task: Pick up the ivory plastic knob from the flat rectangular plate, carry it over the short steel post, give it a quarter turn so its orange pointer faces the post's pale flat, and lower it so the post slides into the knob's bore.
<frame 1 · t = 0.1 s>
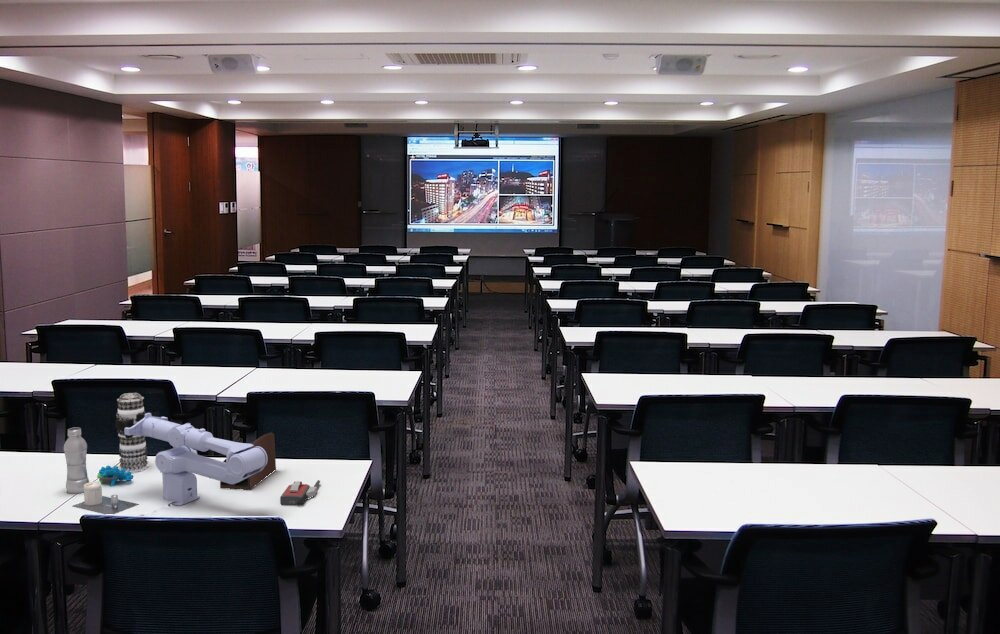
hand: (126, 420, 267), 22 cm above the table, tool horizontal, fingers open, 7 cm apart
plastic bottle: (78, 494, 266), on the table
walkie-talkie: (301, 496, 266), on the table
flat rectangular plate: (105, 508, 253), on the table
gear: (115, 486, 273), on the table
decorative candle: (134, 469, 290), on the table
letter holder: (249, 480, 280), on the table
knob: (93, 502, 255), point 1 cm above the table, touching flat rectangular plate
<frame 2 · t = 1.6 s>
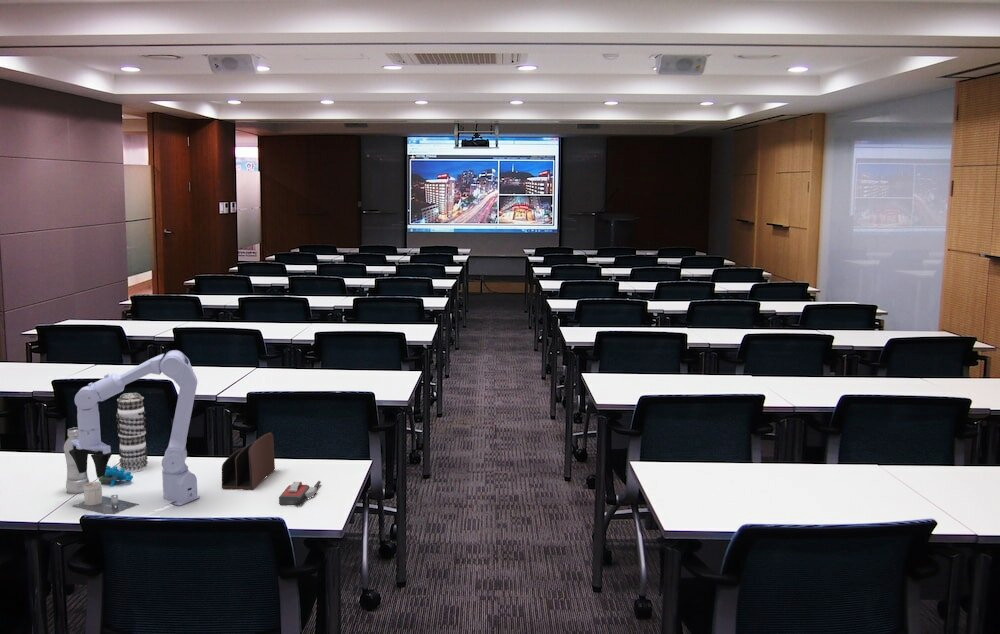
hand: (91, 474, 254), 9 cm above the table, tool pointing down, fingers open, 7 cm apart
nothing on the table moved.
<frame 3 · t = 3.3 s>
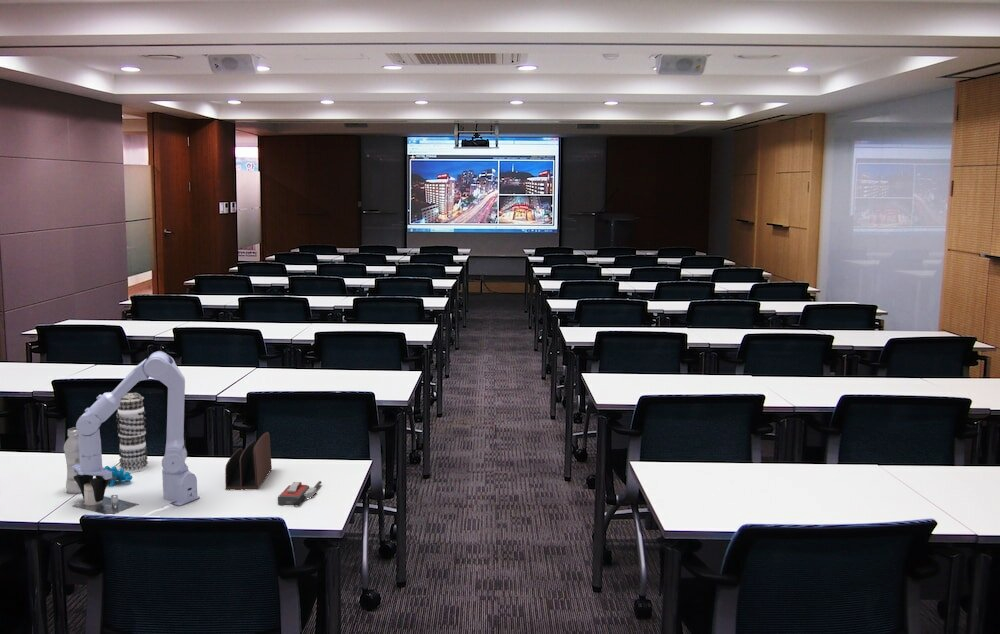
hand: (93, 499, 255), 2 cm above the table, tool pointing down, fingers closed on knob, 4 cm apart
knob: (93, 502, 255), point 1 cm above the table, touching gripper, flat rectangular plate
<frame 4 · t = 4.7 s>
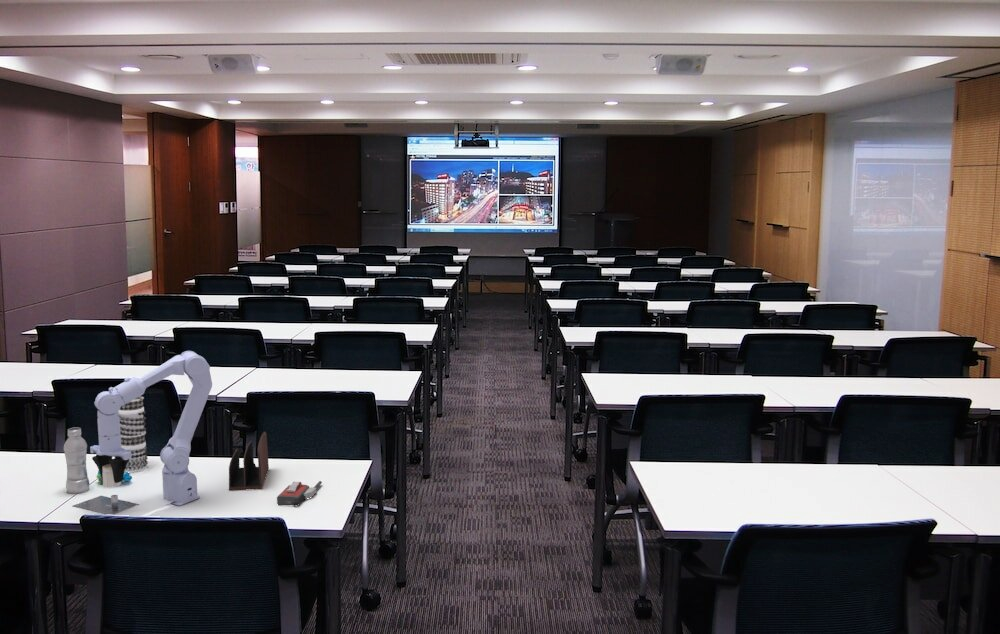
hand: (112, 480, 251), 9 cm above the table, tool pointing down, fingers closed on knob, 4 cm apart
knob: (112, 484, 251), point 8 cm above the table, touching gripper
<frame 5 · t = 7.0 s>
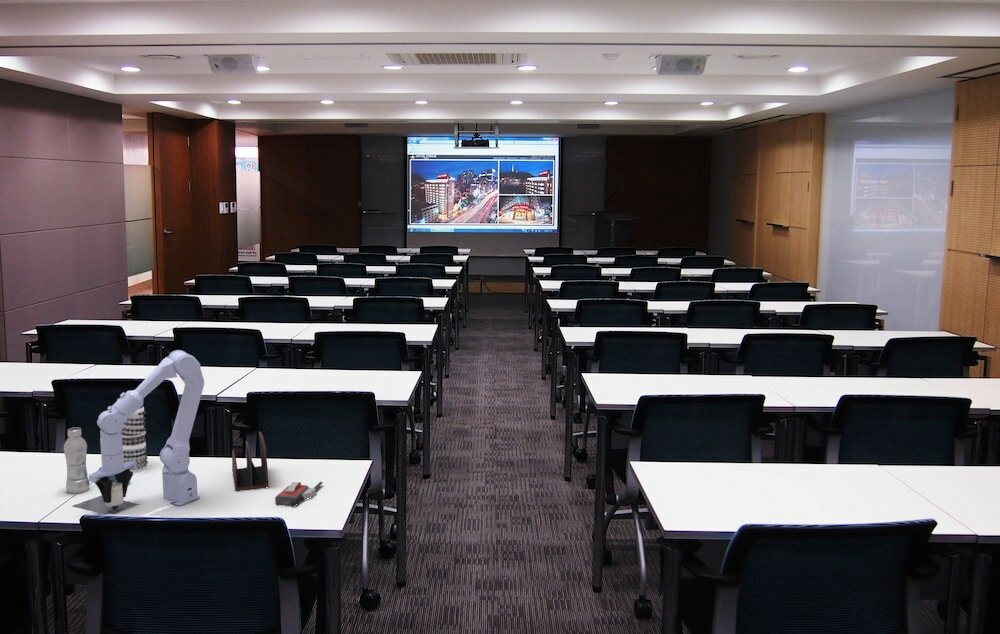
hand: (114, 499, 251), 3 cm above the table, tool pointing down, fingers closed on knob, 4 cm apart
knob: (114, 503, 251), point 2 cm above the table, touching gripper
when the fingers open (3 cm above the table, at t = 7.7 s): knob drops 1 cm, resting on flat rectangular plate.
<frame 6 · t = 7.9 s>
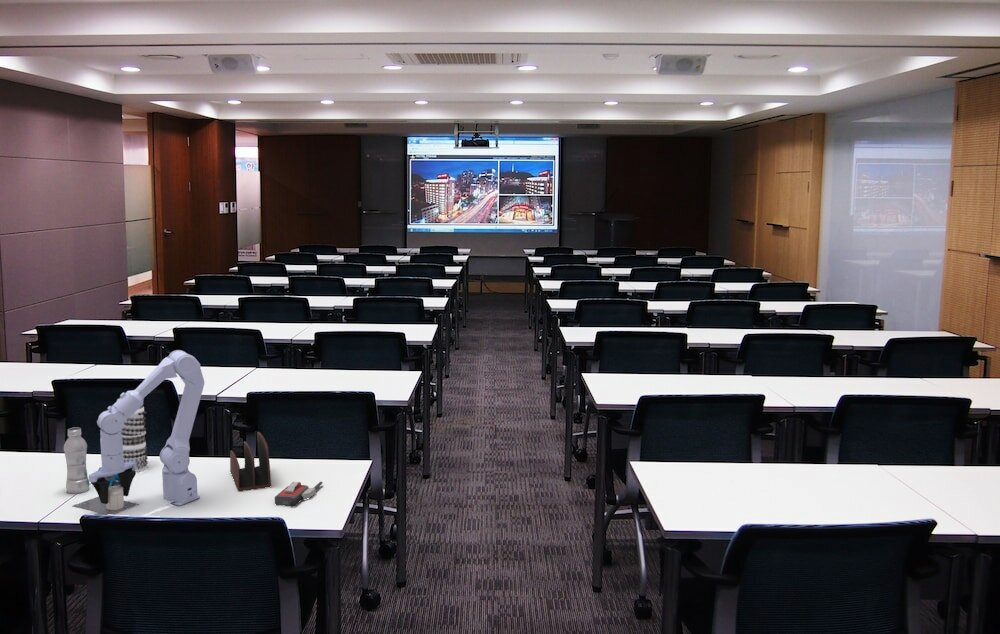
hand: (114, 499, 251), 3 cm above the table, tool pointing down, fingers open, 6 cm apart
knob: (115, 507, 251), point 1 cm above the table, touching flat rectangular plate
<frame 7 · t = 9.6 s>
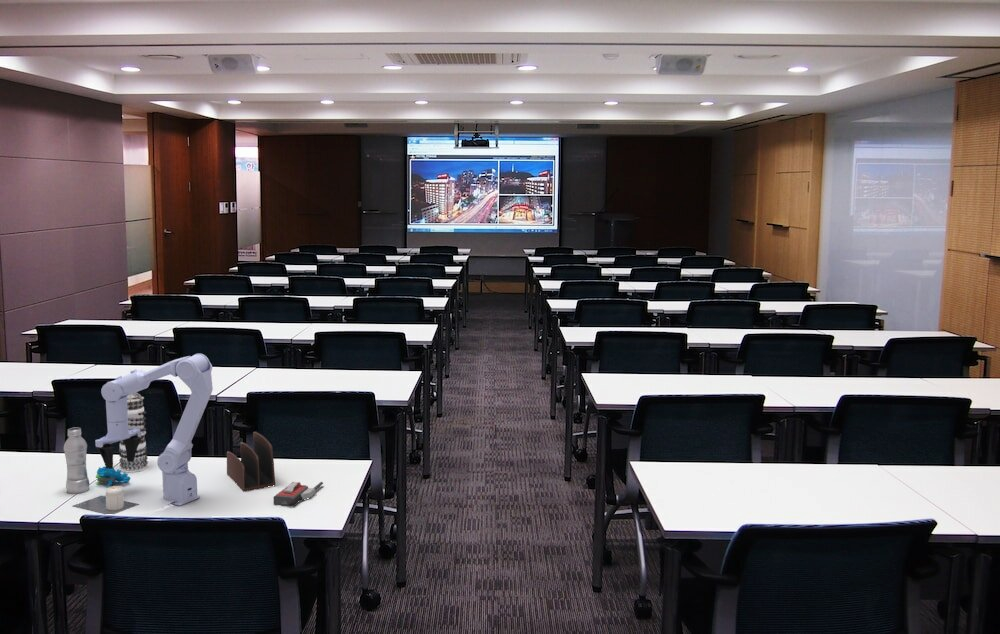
hand: (120, 464, 262), 10 cm above the table, tool pointing down, fingers open, 7 cm apart
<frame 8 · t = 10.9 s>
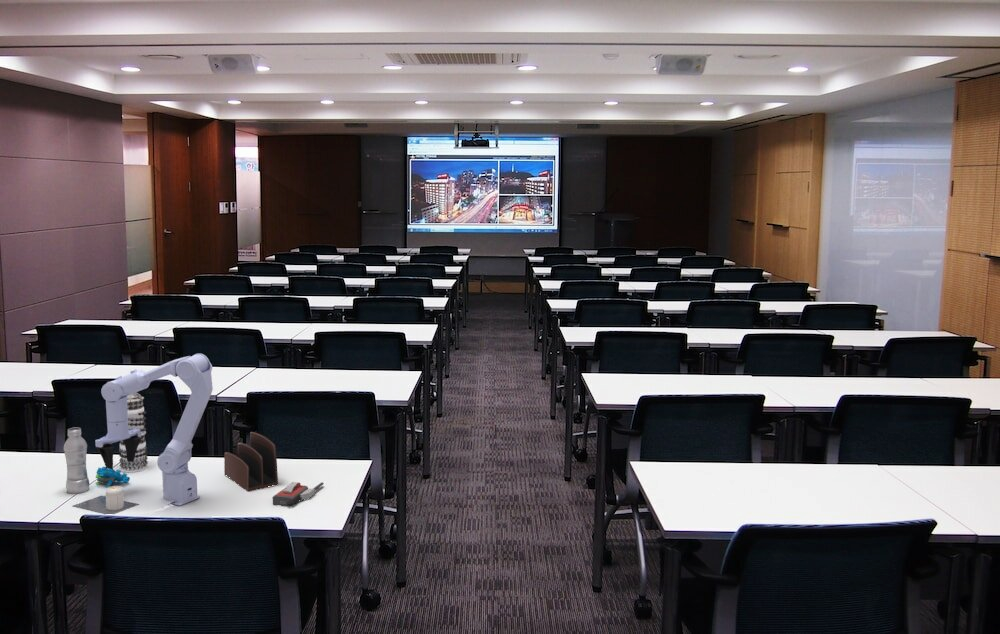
hand: (120, 464, 262), 10 cm above the table, tool pointing down, fingers open, 7 cm apart
at the end: knob 0.1 cm from the target spot on the flat rectangular plate, point 1.1 cm above the flat rectangular plate's base; knob tilted 1°; the gripper is holding nothing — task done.
